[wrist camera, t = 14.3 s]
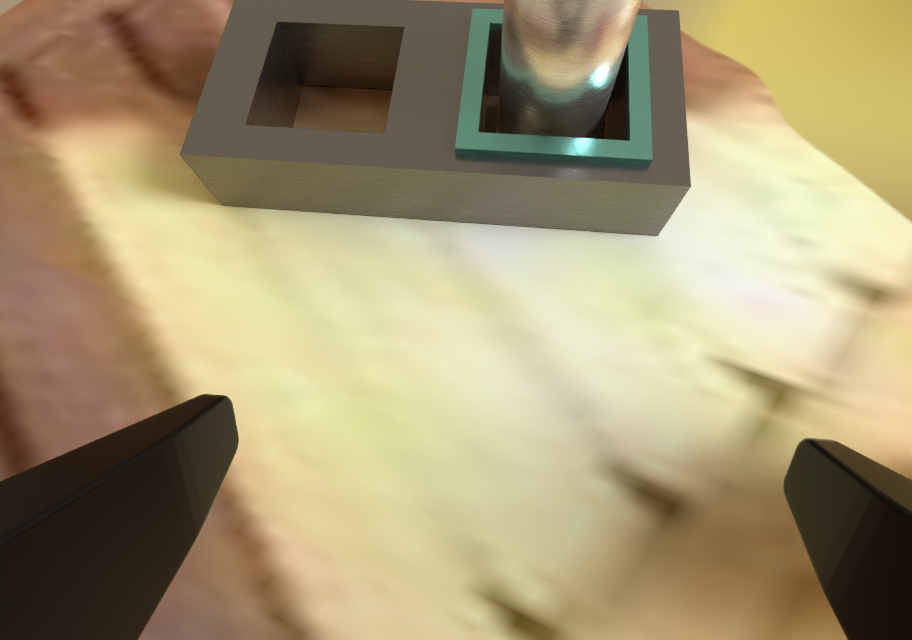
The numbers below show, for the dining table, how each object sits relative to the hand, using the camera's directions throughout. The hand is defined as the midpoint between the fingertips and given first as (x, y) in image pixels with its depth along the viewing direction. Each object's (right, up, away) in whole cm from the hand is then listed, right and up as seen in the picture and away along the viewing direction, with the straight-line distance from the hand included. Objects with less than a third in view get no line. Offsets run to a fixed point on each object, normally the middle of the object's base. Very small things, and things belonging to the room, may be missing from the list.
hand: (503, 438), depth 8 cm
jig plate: (-1, +12, +19) cm, 22 cm away
